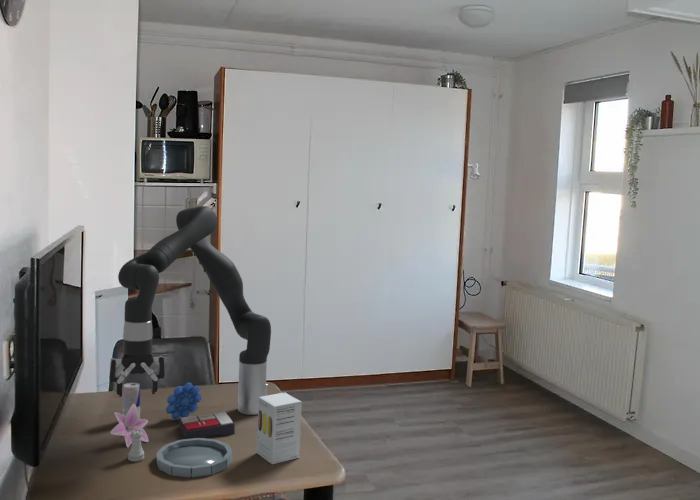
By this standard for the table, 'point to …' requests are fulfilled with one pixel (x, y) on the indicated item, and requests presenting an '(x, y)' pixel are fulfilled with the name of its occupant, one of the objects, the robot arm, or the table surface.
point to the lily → (130, 425)
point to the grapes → (183, 401)
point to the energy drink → (130, 397)
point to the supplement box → (279, 427)
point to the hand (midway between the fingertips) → (136, 394)
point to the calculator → (206, 425)
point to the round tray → (194, 457)
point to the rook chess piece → (136, 447)
